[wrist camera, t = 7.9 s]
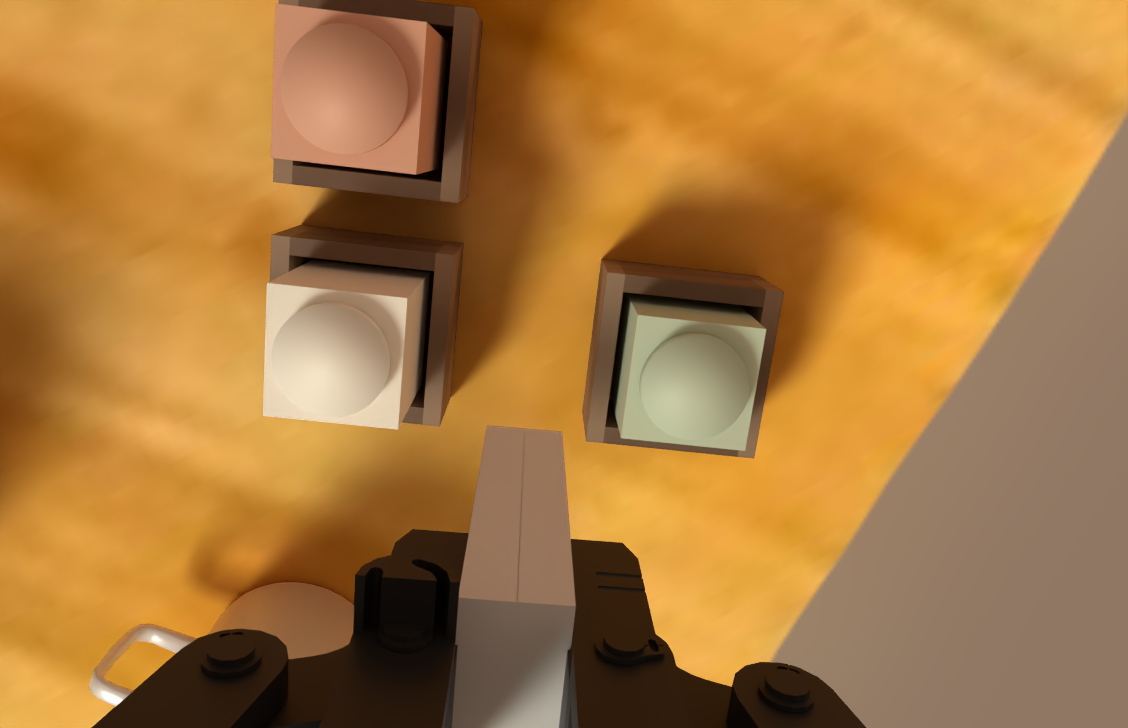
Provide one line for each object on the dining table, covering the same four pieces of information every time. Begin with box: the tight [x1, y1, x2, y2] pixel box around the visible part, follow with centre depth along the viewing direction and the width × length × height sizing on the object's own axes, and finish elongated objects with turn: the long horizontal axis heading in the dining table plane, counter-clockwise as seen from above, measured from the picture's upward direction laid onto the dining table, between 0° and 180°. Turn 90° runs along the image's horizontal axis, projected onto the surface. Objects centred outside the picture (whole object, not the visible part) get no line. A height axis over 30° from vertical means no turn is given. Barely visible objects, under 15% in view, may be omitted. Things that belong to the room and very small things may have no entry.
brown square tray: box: [582, 259, 784, 458], centre depth 37 cm, size 7×7×4 cm
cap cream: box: [263, 260, 430, 429], centre depth 33 cm, size 5×5×7 cm
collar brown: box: [273, 0, 483, 203], centre depth 34 cm, size 7×7×4 cm
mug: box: [89, 582, 354, 706], centre depth 38 cm, size 12×10×9 cm
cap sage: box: [610, 292, 766, 451], centre depth 35 cm, size 5×5×7 cm
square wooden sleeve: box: [270, 225, 464, 426], centre depth 36 cm, size 7×7×4 cm
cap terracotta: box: [271, 4, 448, 174], centre depth 31 cm, size 5×5×7 cm
